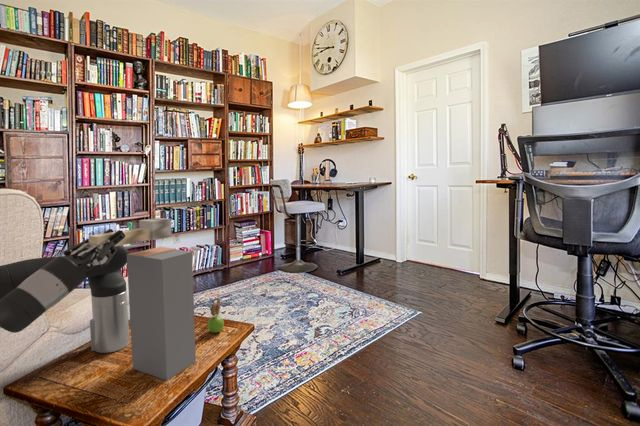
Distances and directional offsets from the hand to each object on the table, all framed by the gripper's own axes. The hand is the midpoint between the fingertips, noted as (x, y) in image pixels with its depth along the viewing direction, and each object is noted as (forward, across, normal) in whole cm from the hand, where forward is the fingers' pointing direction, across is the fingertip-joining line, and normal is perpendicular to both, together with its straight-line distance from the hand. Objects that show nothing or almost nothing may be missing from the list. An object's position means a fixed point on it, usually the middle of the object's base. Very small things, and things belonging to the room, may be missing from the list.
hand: (117, 232), depth 85 cm
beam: (+2, 0, +4) cm, 5 cm away
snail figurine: (+9, -1, +50) cm, 51 cm away
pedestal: (-11, -2, +39) cm, 40 cm away
